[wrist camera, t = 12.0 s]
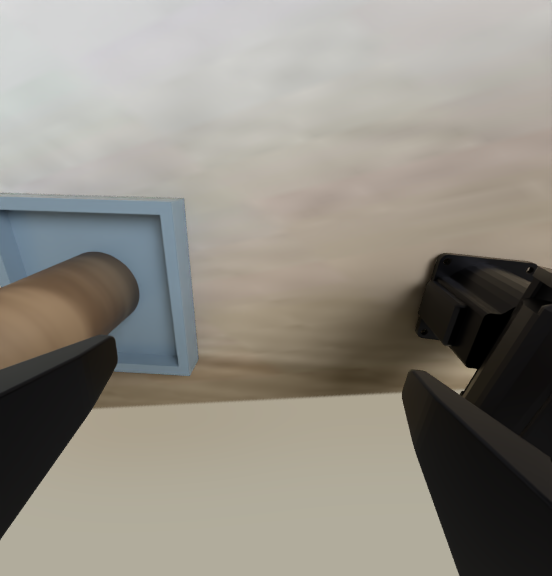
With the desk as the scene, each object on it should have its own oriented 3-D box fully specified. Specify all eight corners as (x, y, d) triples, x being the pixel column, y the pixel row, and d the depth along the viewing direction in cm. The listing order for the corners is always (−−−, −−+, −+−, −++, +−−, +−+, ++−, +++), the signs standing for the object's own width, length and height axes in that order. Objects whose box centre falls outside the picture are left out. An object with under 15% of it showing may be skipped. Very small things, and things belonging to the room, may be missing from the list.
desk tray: (183, 198, 20) (171, 201, 18) (198, 358, 25) (189, 375, 23) (0, 193, 21) (-32, 195, 19) (50, 350, 26) (28, 366, 24)
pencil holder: (116, 242, 21) (-97, 335, 10) (152, 310, 22) (8, 454, 11) (52, 263, 22) (-209, 369, 11) (91, 326, 24) (-95, 473, 12)
